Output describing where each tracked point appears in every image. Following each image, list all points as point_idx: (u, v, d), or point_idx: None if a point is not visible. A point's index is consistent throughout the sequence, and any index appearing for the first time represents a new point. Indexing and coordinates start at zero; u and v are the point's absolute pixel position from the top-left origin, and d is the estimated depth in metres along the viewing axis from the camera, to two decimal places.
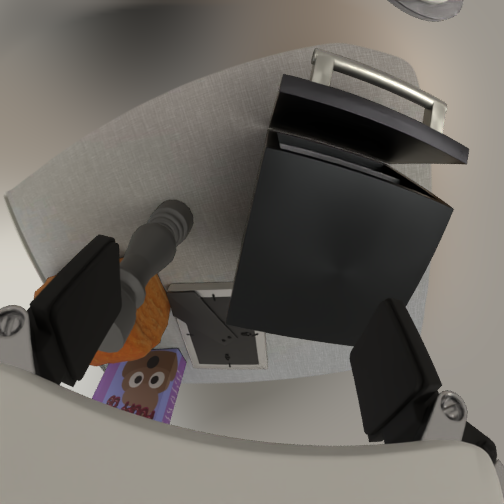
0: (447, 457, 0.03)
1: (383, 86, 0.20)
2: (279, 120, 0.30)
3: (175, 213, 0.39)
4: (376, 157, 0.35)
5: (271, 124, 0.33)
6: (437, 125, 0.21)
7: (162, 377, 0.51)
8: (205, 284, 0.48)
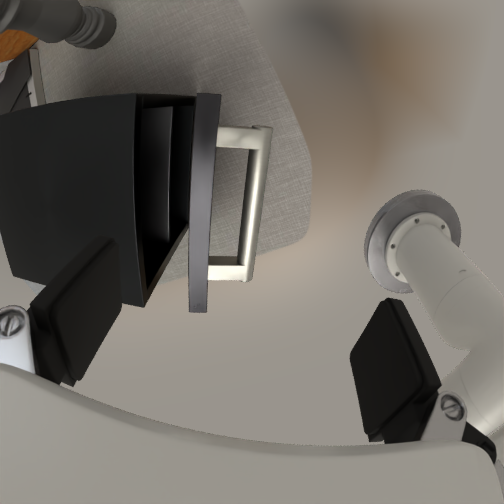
0: (447, 457, 0.03)
1: (243, 207, 0.23)
2: None
3: (98, 29, 0.24)
4: None
5: None
6: (220, 273, 0.26)
7: None
8: (40, 81, 0.29)
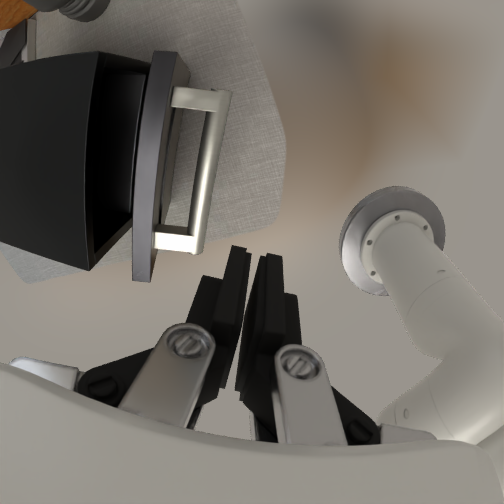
0: (447, 457, 0.03)
1: (196, 172, 0.21)
2: None
3: (91, 2, 0.21)
4: None
5: None
6: (167, 242, 0.23)
7: None
8: (33, 51, 0.26)
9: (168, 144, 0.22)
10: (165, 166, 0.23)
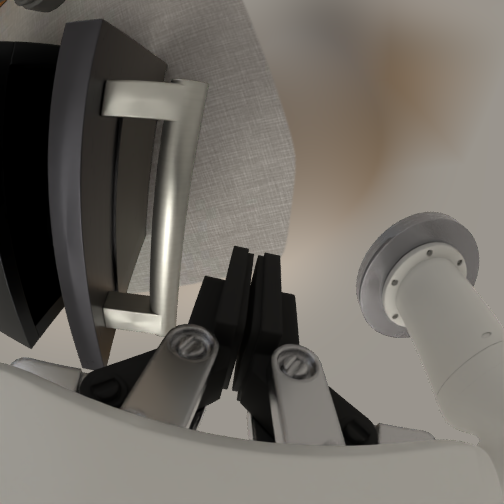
0: (447, 457, 0.03)
1: (152, 224, 0.13)
2: None
3: None
4: None
5: None
6: (122, 320, 0.15)
7: None
8: None
9: (115, 173, 0.14)
10: (114, 207, 0.15)
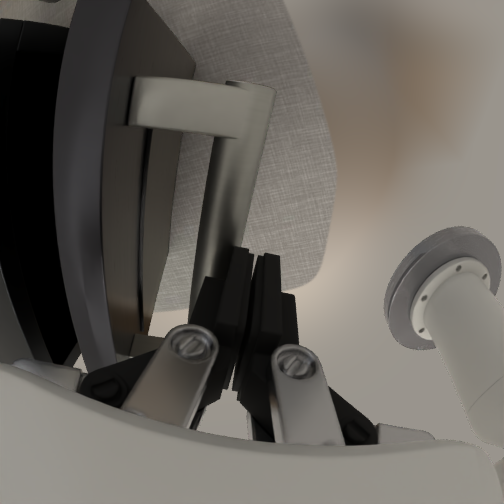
0: (447, 457, 0.03)
1: (194, 267, 0.11)
2: None
3: None
4: None
5: None
6: None
7: None
8: None
9: (142, 197, 0.12)
10: (140, 237, 0.12)
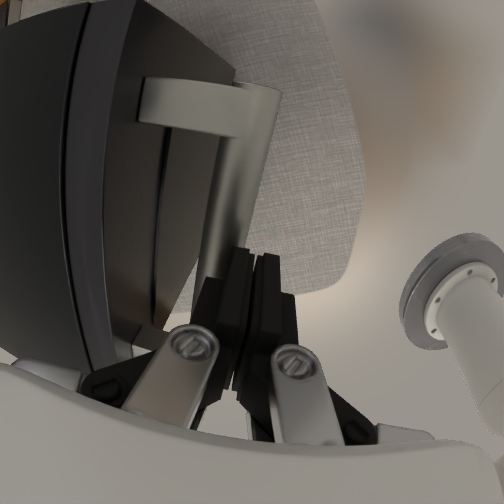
0: (447, 457, 0.03)
1: None
2: None
3: None
4: None
5: None
6: None
7: None
8: None
9: (160, 193, 0.12)
10: (156, 232, 0.13)
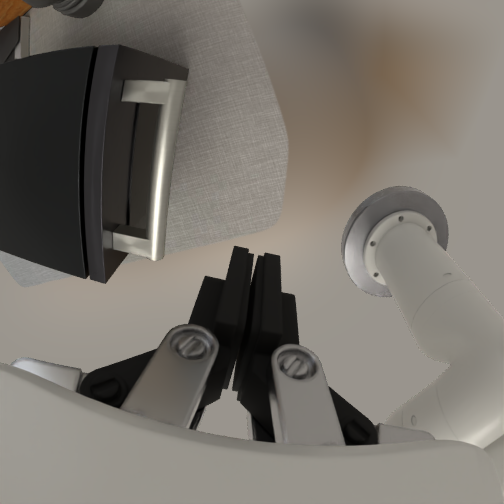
0: (447, 457, 0.03)
1: (150, 171, 0.19)
2: None
3: None
4: None
5: None
6: (125, 244, 0.21)
7: None
8: (26, 48, 0.24)
9: (133, 141, 0.20)
10: (131, 164, 0.21)
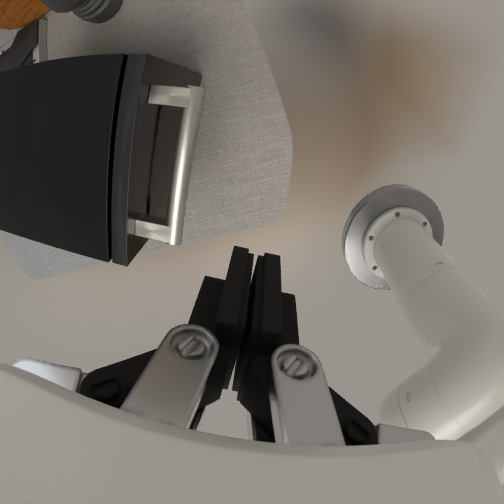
0: (447, 457, 0.03)
1: (172, 165, 0.22)
2: None
3: (104, 4, 0.23)
4: None
5: None
6: (146, 230, 0.24)
7: None
8: (44, 50, 0.27)
9: (155, 139, 0.23)
10: (153, 160, 0.24)
